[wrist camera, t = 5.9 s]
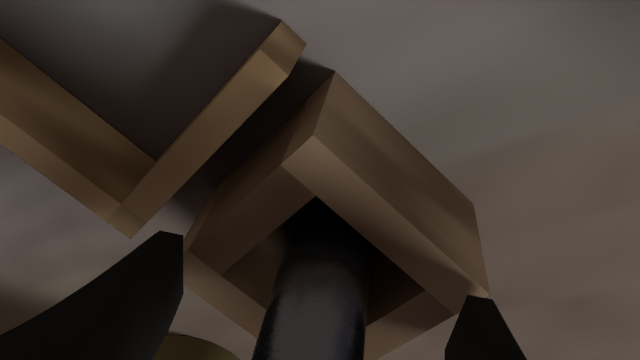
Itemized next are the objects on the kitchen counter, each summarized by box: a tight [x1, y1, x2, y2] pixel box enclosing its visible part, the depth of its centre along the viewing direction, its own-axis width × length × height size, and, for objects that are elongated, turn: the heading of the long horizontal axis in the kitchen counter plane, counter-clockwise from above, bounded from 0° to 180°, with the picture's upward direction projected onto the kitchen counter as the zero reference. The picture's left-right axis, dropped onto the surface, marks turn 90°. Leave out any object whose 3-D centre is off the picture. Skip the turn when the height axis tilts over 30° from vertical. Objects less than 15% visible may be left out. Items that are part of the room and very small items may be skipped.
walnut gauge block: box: [183, 72, 490, 360], centre depth 15 cm, size 6×6×4 cm
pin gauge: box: [251, 196, 372, 360], centre depth 13 cm, size 2×2×8 cm
